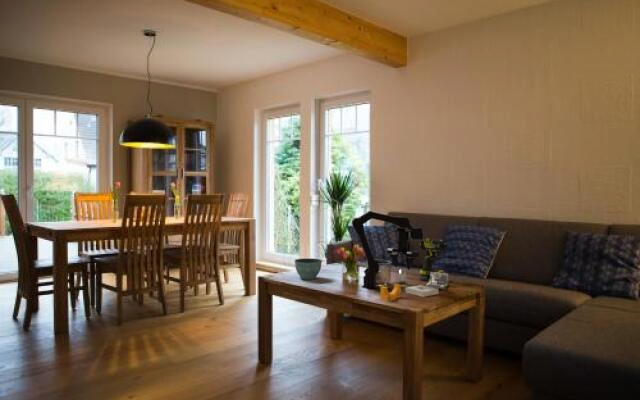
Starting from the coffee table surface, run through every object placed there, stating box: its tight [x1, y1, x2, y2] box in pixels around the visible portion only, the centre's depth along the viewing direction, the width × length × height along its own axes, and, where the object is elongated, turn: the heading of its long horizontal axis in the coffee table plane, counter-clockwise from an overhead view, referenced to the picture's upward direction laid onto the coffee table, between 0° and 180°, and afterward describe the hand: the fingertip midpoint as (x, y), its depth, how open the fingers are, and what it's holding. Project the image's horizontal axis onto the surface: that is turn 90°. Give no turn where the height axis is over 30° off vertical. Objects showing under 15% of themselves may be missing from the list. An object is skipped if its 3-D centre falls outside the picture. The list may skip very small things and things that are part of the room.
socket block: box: [385, 280, 419, 293], centre depth 259 cm, size 12×12×2 cm
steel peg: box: [398, 268, 407, 285], centre depth 259 cm, size 4×4×10 cm
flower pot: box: [294, 258, 323, 281], centre depth 280 cm, size 16×16×11 cm
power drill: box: [418, 237, 450, 282], centre depth 281 cm, size 9×17×25 cm, turn 68°
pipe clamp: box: [379, 284, 402, 302], centre depth 235 cm, size 12×4×6 cm, turn 129°
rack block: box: [405, 284, 440, 298], centre depth 248 cm, size 12×12×2 cm
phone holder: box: [422, 272, 451, 291], centre depth 262 cm, size 18×10×12 cm
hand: (402, 268), depth 258 cm, fingers open, 9 cm apart
